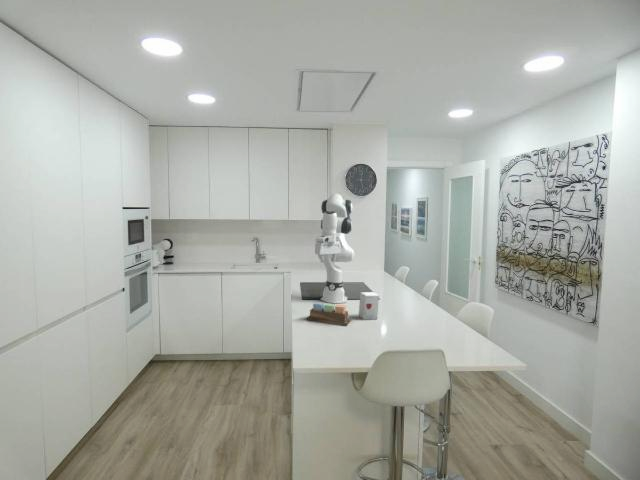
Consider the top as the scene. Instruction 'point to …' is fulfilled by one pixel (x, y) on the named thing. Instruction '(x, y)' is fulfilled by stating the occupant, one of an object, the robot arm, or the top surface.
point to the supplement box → (368, 305)
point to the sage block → (329, 307)
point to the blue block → (318, 306)
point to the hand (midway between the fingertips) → (327, 261)
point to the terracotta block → (340, 309)
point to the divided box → (329, 317)
